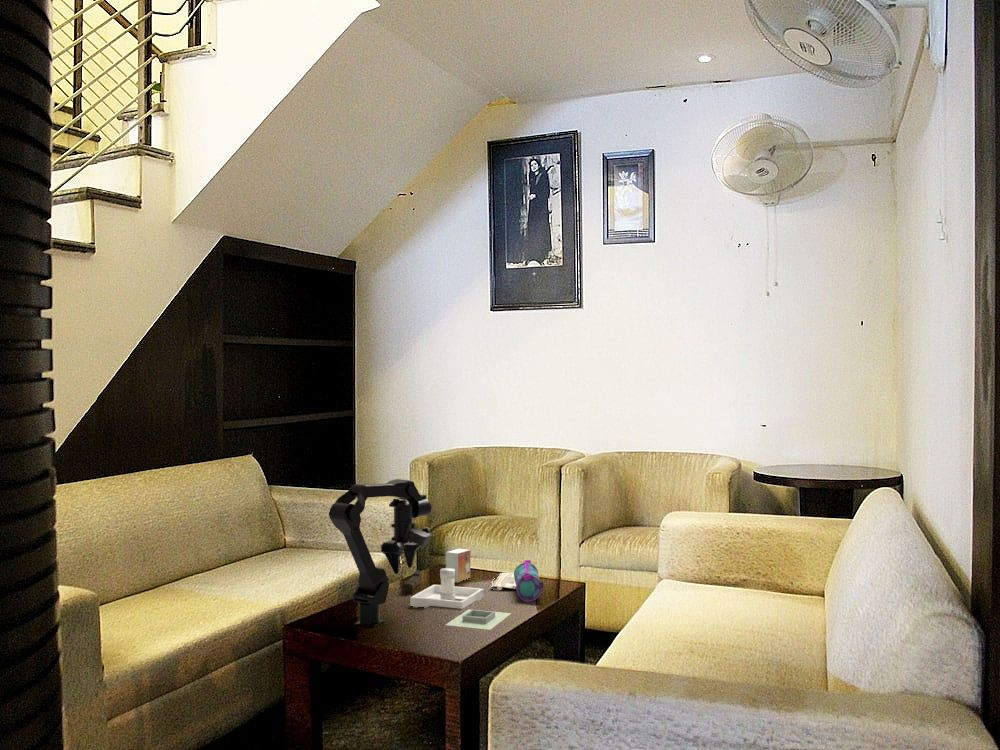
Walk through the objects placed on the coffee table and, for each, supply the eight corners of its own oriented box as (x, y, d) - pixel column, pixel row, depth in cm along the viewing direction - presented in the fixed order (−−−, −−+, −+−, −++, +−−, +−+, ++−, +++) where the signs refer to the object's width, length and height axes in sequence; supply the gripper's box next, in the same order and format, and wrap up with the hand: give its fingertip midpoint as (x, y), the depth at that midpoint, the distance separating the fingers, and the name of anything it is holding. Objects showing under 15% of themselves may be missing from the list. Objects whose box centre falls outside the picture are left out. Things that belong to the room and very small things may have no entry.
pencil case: (543, 603, 274) (543, 573, 274) (516, 603, 274) (516, 573, 274) (538, 587, 295) (538, 559, 295) (513, 587, 294) (513, 559, 295)
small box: (457, 583, 301) (457, 553, 301) (445, 581, 304) (445, 551, 304) (470, 578, 308) (470, 549, 308) (458, 576, 311) (458, 548, 311)
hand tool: (412, 595, 284) (412, 581, 285) (400, 594, 285) (401, 581, 285) (427, 582, 303) (427, 569, 303) (416, 582, 304) (416, 569, 304)
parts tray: (462, 611, 263) (462, 602, 263) (410, 606, 269) (410, 597, 269) (483, 597, 280) (483, 588, 280) (433, 593, 286) (433, 584, 286)
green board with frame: (490, 633, 241) (490, 624, 241) (445, 628, 245) (445, 619, 245) (511, 616, 258) (511, 608, 258) (468, 612, 262) (468, 604, 262)
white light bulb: (457, 601, 274) (457, 570, 274) (443, 603, 271) (443, 571, 271) (451, 597, 278) (451, 567, 278) (438, 599, 276) (438, 568, 276)
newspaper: (495, 577, 312) (495, 570, 312) (527, 582, 310) (528, 575, 310) (484, 592, 290) (485, 584, 290) (519, 597, 288) (520, 589, 288)
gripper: (413, 526, 251) (413, 579, 251) (439, 516, 269) (439, 566, 268) (379, 524, 255) (380, 576, 255) (407, 515, 272) (407, 563, 272)
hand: (403, 570), depth 262 cm, fingers open, 9 cm apart
